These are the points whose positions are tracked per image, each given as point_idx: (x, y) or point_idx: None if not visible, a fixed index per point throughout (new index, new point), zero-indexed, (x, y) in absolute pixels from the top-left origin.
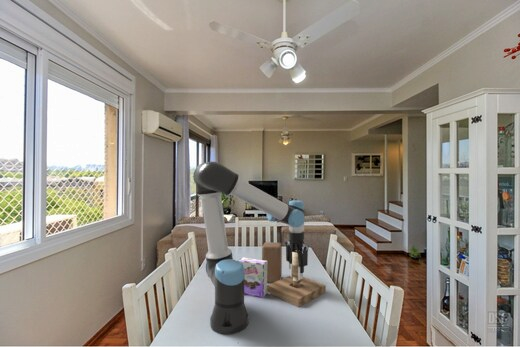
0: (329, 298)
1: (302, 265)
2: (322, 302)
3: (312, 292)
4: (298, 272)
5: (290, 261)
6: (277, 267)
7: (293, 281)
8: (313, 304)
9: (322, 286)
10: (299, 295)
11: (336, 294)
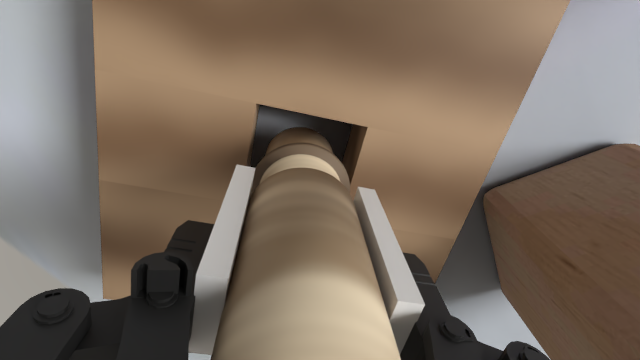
0: (42, 192)
1: (120, 315)
2: (34, 101)
3: (99, 120)
4: (240, 213)
5: (441, 347)
6: (590, 272)
7: (314, 146)
8: (62, 19)
9: (104, 265)
10: None
11: (50, 269)
